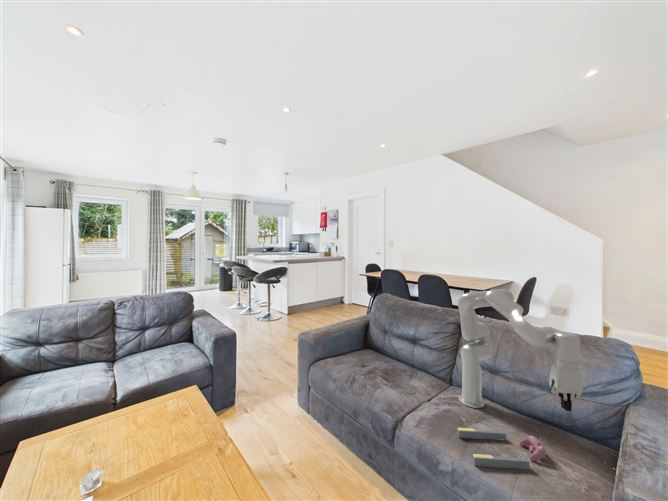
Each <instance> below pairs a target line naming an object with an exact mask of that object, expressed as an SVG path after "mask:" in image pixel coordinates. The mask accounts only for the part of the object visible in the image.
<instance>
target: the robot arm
mask: <svg viewBox="0 0 668 501" xmlns="http://www.w3.org/2000/svg"><path fill="white" fill-rule="evenodd" d="M514 297H515V296H514V295H513V293H512V292H511V291H510V290H508V289H505V288H498V289H491V290H481V291H471V292H470V291H469V292H465V293H464V294H462V295H460V296H459V298H458V300H457V307H458V313H459V319H460V320H459V321H460V322H459V323H460V328H461V329H460V331H461V336H462V338H463V339H464V341H465V340H466V341H467V342H470V343H466V344H463V346H461V348H460V358H461V364H462V365H461V369H462V370H461V371H462V372H461V373H462V374H461V375H462V376H461V394H459V395H458V400H459V402H461V404H463V405H464V406H467V407H470V408H474V409H481V408H485V405H486V404H485V400H484V399H483V398H482V397H483V396H482V388H483V387H482V386H483V383H482V382H483V379H482V378H483V372H482V367H481V364H480V362H481V361H485V360H488V359H490V358H491V357H492V355H493V346H492V337H491V331H490V328H489V327H488V325H487V323H485V322H483V321H479V320H478V315H477V313H476V310H474V309H476V308H487V307H491V308H493V309H494V310H495V311H497V312H498V313H499V314H501V316H503V317H504V318H505V319H507V320H508V321H509V324H510V326H511V327H512V329H513V331H514V332H515V333H516V334H517V335H518V336H519V337H520V338H522V340H524V341H526V343H528V344H530V345H531V346H533V347H536V348H545V347H549V346H554V363H552V365H551V368H550V373H549V378H548V379H549V381H548V383H549V388H551V393H552V394H553V395H556V396H558V397H559V398H560V407H561V408H562V409H563V410H565V411H566V412H572V408H573V402H574V401H575V400H574V399H575V398H576V397H581V396H582V393H583V392H584V382H583V380H584V379H583V373H582V370H581V368H580V366H581V365H582V364H583V363H582V361H580V344H581V343H580V337H579V335H577V334H576V333H573V332H568V331H563V330H560V329H557V328H555V327H551V326H542V327H535V326H533V325H532V323H530V322H528V321H527V319H525V318H524V316H523V313H524V308H523V306H522V305H520V304H519V303H517V302H516V301H515V298H514ZM472 341H473V342H472Z"/></svg>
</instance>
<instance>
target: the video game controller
mask: <svg viewBox="0 0 668 501" xmlns="http://www.w3.org/2000/svg"><path fill="white" fill-rule="evenodd" d="M519 446H521V447H528V446H529V447H528V449H529V451H530V452H532V454H530V456H529V461H531V462H538V461H540V460H542V459H543V458H545V457H546V454H547V453H546V452H547V451H546V449H545V448H544V446H543V443H541V441H540V440H539V439H538V438H536V437H535V436H532V435H529V436H526V437H525V438H523V439H521V440H519Z"/></svg>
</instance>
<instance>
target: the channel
mask: <svg viewBox="0 0 668 501" xmlns="http://www.w3.org/2000/svg"><path fill="white" fill-rule="evenodd" d="M457 437H458V438H459V439H472V440H473V439H474V440H487V439H502V440H501V441H503V439H504V440H506V441H507V433H506V431H503V430H487V429H475V428H469V427H457ZM472 464H473V465H474V466H475V467H488V468H489V467H490V468H502V469H505V468H506V469H515V470H517V469H518V470H528V469H529V470H530V459H528V458H525V457H522V458H521V457H510V456H495V455H494V456H493V455H492V454H481V453H478V454H477V453H473V454H472Z"/></svg>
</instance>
